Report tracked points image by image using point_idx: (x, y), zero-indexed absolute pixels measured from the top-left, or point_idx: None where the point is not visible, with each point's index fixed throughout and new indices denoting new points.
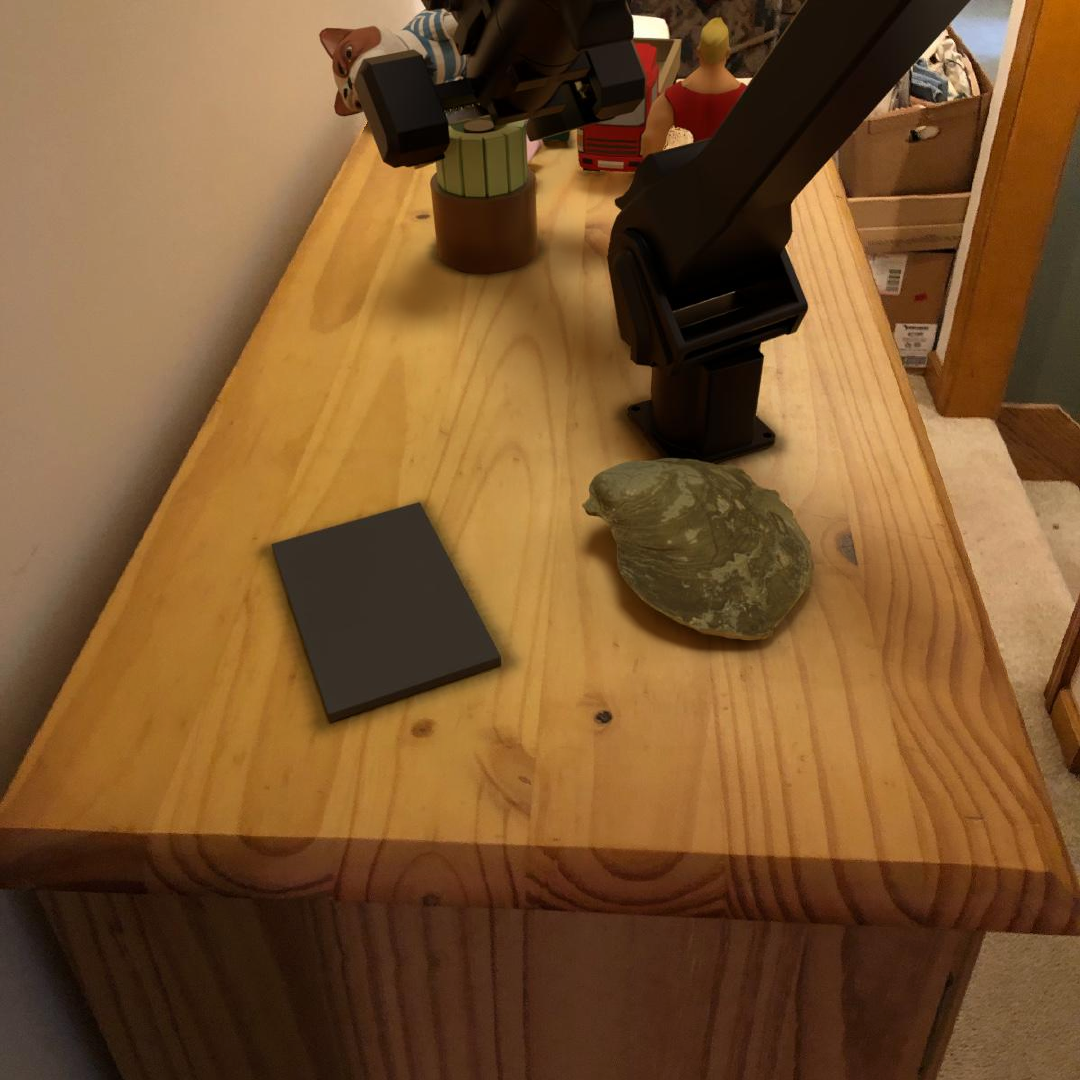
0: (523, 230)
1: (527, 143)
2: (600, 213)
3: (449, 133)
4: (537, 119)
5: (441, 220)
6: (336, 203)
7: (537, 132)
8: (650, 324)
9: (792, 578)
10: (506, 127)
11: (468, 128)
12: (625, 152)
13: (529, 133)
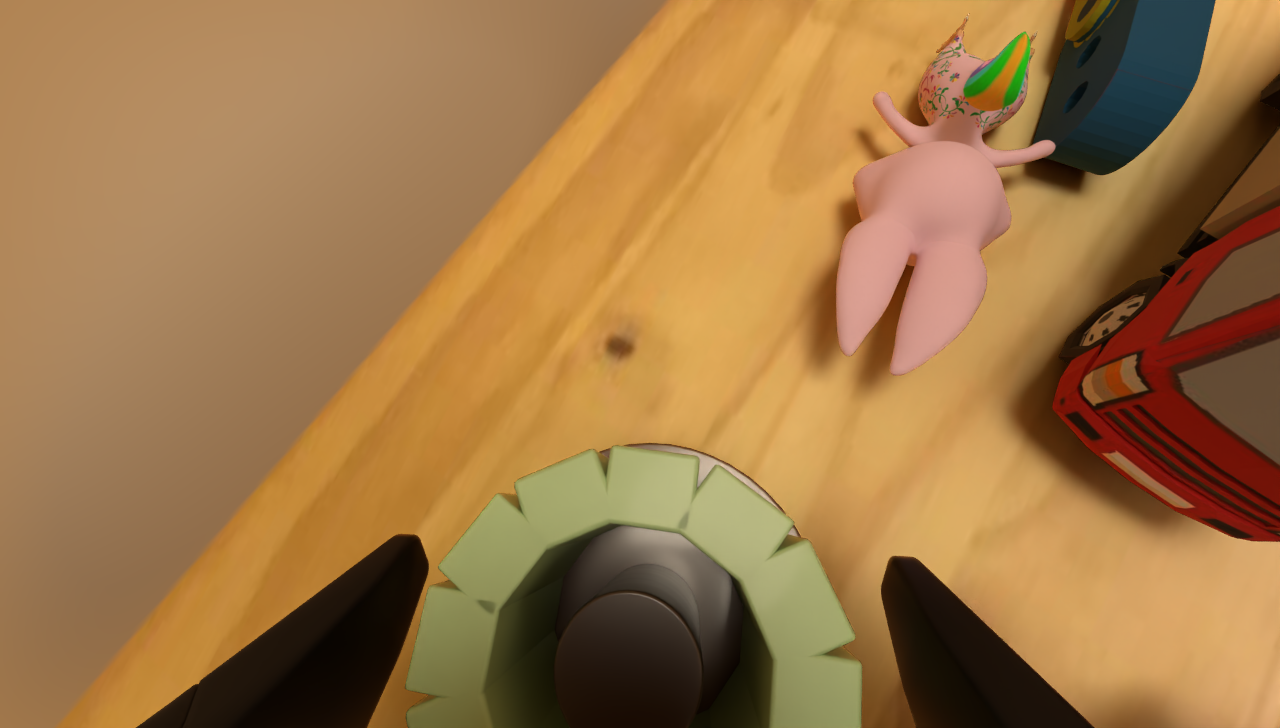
0: None
1: (944, 303)
2: (1005, 566)
3: (441, 723)
4: (944, 701)
5: None
6: (507, 204)
7: (912, 686)
8: None
9: None
10: None
11: (565, 679)
12: (1232, 503)
13: (892, 598)
